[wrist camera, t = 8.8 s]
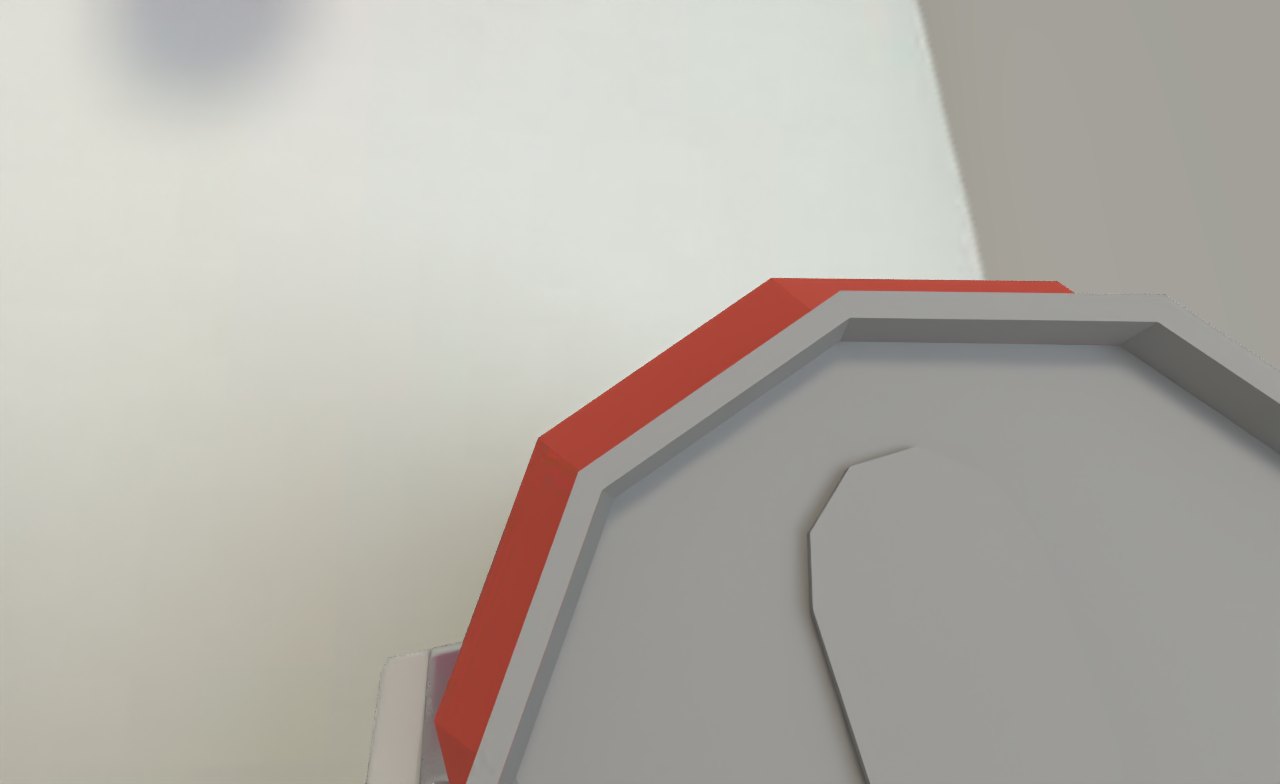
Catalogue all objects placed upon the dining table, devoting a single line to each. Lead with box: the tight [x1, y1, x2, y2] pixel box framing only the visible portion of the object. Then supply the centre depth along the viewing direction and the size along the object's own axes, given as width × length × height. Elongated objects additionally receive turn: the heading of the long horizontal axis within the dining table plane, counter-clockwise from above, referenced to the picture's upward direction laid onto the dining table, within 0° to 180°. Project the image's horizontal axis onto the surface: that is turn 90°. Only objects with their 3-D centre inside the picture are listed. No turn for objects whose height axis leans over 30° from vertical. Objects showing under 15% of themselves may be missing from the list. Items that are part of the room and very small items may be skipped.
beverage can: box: [434, 278, 1280, 784], centre depth 10 cm, size 6×6×12 cm
